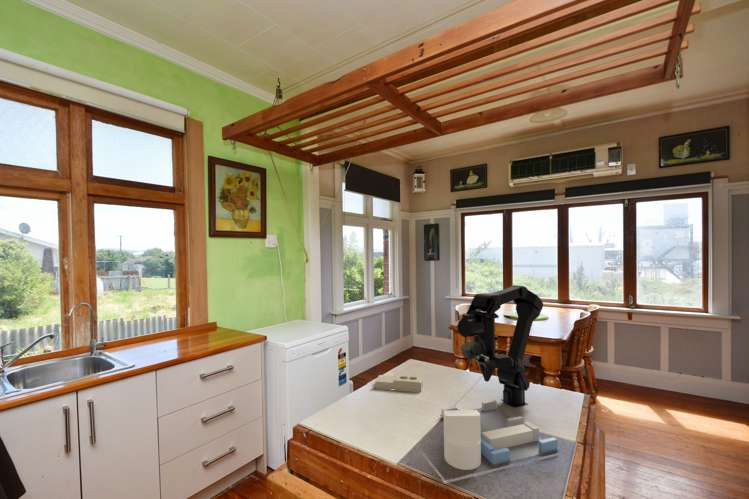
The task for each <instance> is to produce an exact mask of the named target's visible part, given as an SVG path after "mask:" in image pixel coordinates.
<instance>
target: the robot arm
mask: <svg viewBox="0 0 749 499" xmlns="http://www.w3.org/2000/svg"><path fill="white" fill-rule="evenodd" d="M510 302H513V303H514V305H515V311H516V314H517V320H516V324H515V327H514V330H513V334H512V338H511V342H510V345H509V349H508V352H507V354H505V353H501V354H500V353H499V349H497V348H496V341H499V336H498V335H497V336H496V319H499V316H500V315H499V314H497V313H496V312H497V311H499V310H500V309H501V306H502V305H504V304H507V303H510ZM543 307H544V302H543V300H542V299H541V298H540V296H538V295H537V293H536V294H535V293H534V292H532V291H531V290H529V289H528V288H527V287H526V286H524V285H511V286H510V287H507V288H504V289H502V290H497V291H495V292H488V293H487V292H482V293H481V292H479V293H476V294H474V296H473V298H472V300H471V303H470V305H469V307H468V309H467V311H466V314H462V315H461V318H460V319H459V321H458V322H457V325H456V327H457V332H458V333H459V335H460V336H461V337H463V338H470V337H472V340H471V341H469V342H468V341H467V342H466V343H464V344H462V345H461V346H459V348H460V350H461V353H462V356H463V357H465V358H466V359H468V360H474V361H476V362H477V364H478V365H479V368H480V371H481V373H482V377H483V380H484V381H485V382H490V380H491V378H492V375H493V374H494V372H495V370H496V376H497V378H498V382H499V384H501V385H503V389H502V399H501V400H500V401H502V402H503V403H505V404H506V405H508V406H510V407H512V408H519V407H523V406H524V407H525V406H528V405H529V404H528V403H527V402H526V396H525V394H526V393H525V392H526V391H528V389H529V388H530V384H531V382H530V380H529V379H528V377H527V376H526V375H525V373H526V367H525V365H524V361H523V359H524V355H525V352H526V348H527V344H528V340H529V337H530V333H531V329H532V325H533V322H535V320H537V319H538V317H540V315H541V313H542V310H543ZM498 353H499V354H498Z"/></svg>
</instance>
